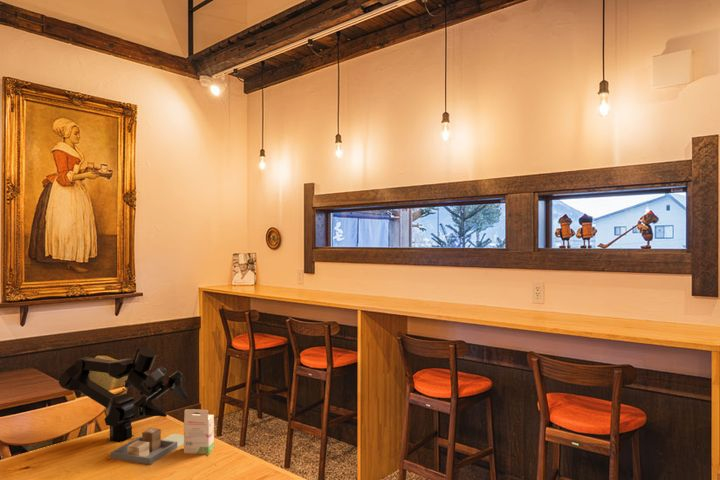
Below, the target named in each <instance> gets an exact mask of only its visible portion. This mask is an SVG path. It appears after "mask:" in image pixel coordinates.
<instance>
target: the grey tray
mask: <svg viewBox="0 0 720 480" xmlns="http://www.w3.org/2000/svg"><path fill="white" fill-rule="evenodd" d="M136 441H142V436H137V437H136V438H135V439H133V440H131V441H129V442H127V443H124V445H122V446H120V447H118V448H116V449H114V450H112V451H110V459H112V460H116V461H124V462H131V463H135V464H142V465H149V466H151V465H152V464H154V463H156V462H157V461H159V460H161V459H162V458H164V457H165V456H167V455H168V454H170V453H171V452H173V451H174V450H176V449H177V448H178V447H177V442H175V441H168V440H163V439H161V447H160V448H158V449H157V450H155V451H154V452H149V455H148V456H146V457H144V456H138V455H132V454H127V446H128V445H130V444H132V443H134V442H136Z"/></svg>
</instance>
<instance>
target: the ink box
mask: <svg viewBox="0 0 720 480" xmlns="http://www.w3.org/2000/svg"><path fill="white" fill-rule="evenodd" d="M214 417H215V415H214V414H209V410H208V409H187V408H186V409H184V419H183V435H184V444H183V453H184V454H199V455H200V454H201V455H203V454H204V455H207V456H210V454H211V453H212V451H213V450H214V449H215V418H214Z"/></svg>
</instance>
